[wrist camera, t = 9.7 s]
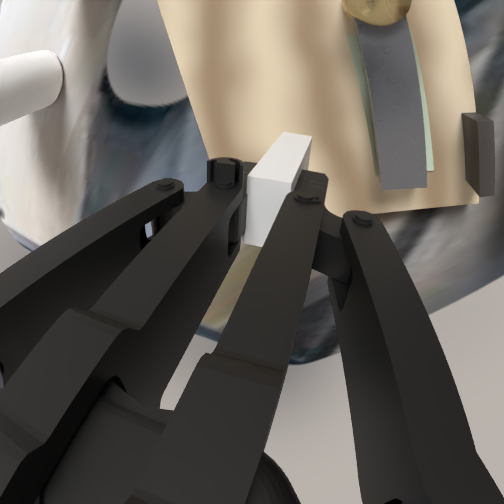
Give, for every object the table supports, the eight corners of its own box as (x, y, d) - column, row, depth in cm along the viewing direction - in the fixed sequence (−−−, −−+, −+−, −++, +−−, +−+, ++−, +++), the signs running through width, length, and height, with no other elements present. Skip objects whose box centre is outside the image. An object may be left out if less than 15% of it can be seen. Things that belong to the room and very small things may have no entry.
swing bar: (334, -20, 14) (333, -34, 11) (392, -24, 13) (401, -38, 10) (372, 176, 21) (377, 196, 18) (424, 173, 20) (436, 193, 17)
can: (73, 62, 23) (-31, 91, 14) (54, 116, 27) (-36, 160, 17) (38, 41, 22) (-57, 65, 13) (23, 91, 26) (-63, 127, 16)
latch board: (416, -74, 11) (430, -98, 7) (470, 192, 22) (492, 222, 18) (163, -18, 18) (127, -27, 14) (240, 219, 29) (222, 250, 25)
